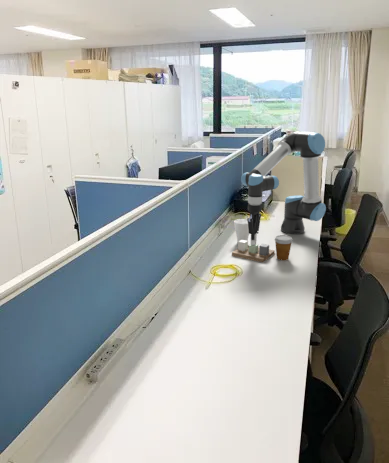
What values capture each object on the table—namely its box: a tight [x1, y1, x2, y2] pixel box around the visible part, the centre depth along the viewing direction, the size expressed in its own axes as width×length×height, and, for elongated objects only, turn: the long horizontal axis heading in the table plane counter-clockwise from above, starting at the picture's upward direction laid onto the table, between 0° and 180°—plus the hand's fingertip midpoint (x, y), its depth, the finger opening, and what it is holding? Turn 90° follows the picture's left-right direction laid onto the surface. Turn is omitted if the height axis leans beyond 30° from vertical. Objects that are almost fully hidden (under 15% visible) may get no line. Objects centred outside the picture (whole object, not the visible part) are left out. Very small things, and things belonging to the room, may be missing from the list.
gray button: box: [258, 243, 270, 256], centre depth 225 cm, size 4×4×5 cm
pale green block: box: [248, 243, 259, 254], centre depth 229 cm, size 4×4×5 cm
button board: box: [231, 244, 276, 263], centre depth 229 cm, size 15×19×2 cm
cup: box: [233, 218, 250, 244], centre depth 247 cm, size 10×10×14 cm
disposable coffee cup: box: [274, 234, 293, 261], centre depth 222 cm, size 10×10×12 cm
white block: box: [237, 240, 249, 251], centre depth 232 cm, size 4×4×5 cm
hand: (253, 244), depth 228 cm, fingers closed
